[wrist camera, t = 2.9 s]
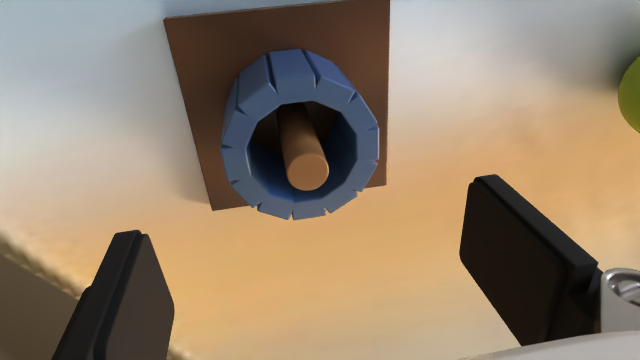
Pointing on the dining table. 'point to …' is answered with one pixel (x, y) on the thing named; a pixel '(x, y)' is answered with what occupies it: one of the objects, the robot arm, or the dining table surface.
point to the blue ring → (269, 168)
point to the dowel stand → (288, 119)
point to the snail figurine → (631, 95)
